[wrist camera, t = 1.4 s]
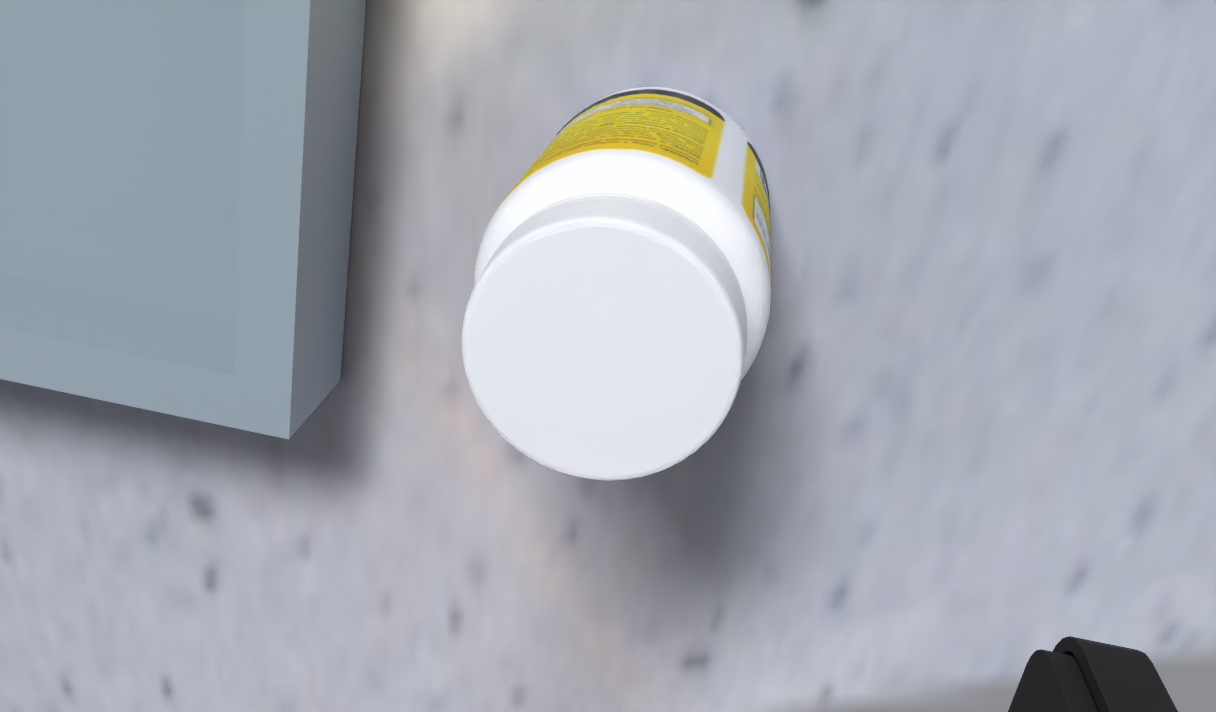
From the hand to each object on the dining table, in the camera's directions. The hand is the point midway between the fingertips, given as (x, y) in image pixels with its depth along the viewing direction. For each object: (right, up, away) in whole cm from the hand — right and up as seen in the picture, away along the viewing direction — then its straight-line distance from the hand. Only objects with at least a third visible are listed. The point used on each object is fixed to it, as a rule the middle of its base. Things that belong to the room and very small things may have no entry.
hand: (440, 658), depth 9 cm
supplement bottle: (+2, +6, +14) cm, 15 cm away
